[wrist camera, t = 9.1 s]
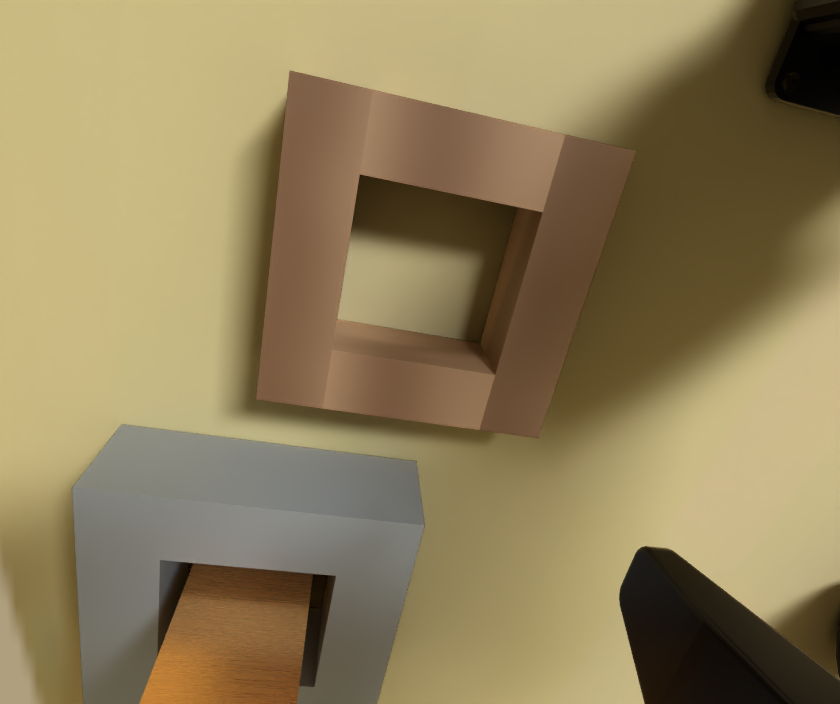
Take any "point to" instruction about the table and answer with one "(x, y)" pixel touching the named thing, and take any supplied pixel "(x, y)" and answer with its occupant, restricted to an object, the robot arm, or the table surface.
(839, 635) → the controller
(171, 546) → the socket
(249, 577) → the peg
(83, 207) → the table surface
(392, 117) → the mount
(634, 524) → the table surface
